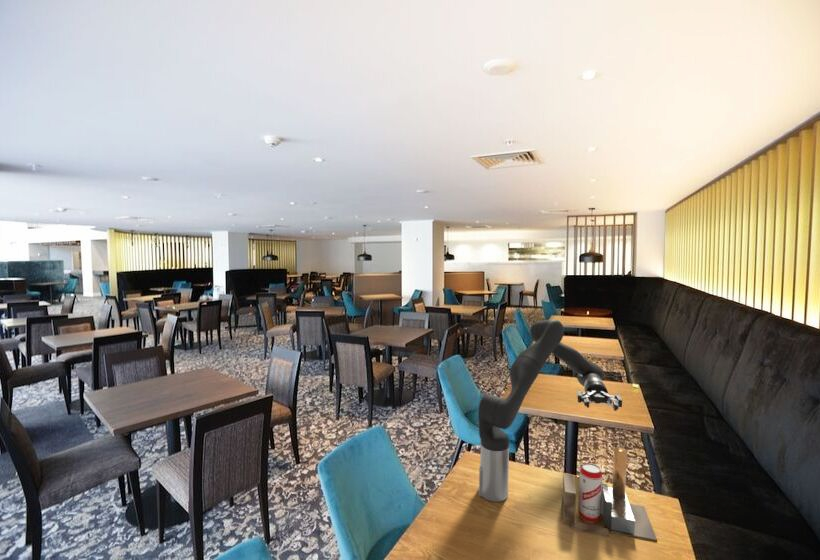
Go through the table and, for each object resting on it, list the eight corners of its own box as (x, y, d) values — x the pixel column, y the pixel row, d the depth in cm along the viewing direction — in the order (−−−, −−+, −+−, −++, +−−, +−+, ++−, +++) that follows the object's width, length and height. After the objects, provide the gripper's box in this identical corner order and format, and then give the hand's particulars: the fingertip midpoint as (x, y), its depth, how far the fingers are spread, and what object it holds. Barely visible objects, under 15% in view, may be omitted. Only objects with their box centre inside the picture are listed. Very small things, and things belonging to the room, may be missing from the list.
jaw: (604, 528, 116) (607, 469, 115) (597, 496, 131) (600, 444, 129) (634, 534, 114) (637, 474, 112) (623, 501, 128) (626, 448, 126)
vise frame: (564, 527, 118) (565, 495, 117) (561, 493, 134) (562, 464, 133) (659, 546, 110) (661, 512, 109) (643, 507, 127) (645, 477, 126)
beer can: (602, 525, 119) (605, 474, 117) (580, 523, 120) (582, 472, 118) (597, 511, 125) (599, 463, 123) (576, 509, 126) (578, 461, 124)
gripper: (575, 378, 153) (579, 393, 138) (616, 381, 149) (625, 398, 133) (574, 397, 154) (578, 414, 139) (615, 401, 150) (624, 419, 134)
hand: (601, 406), depth 136 cm, fingers open, 8 cm apart
